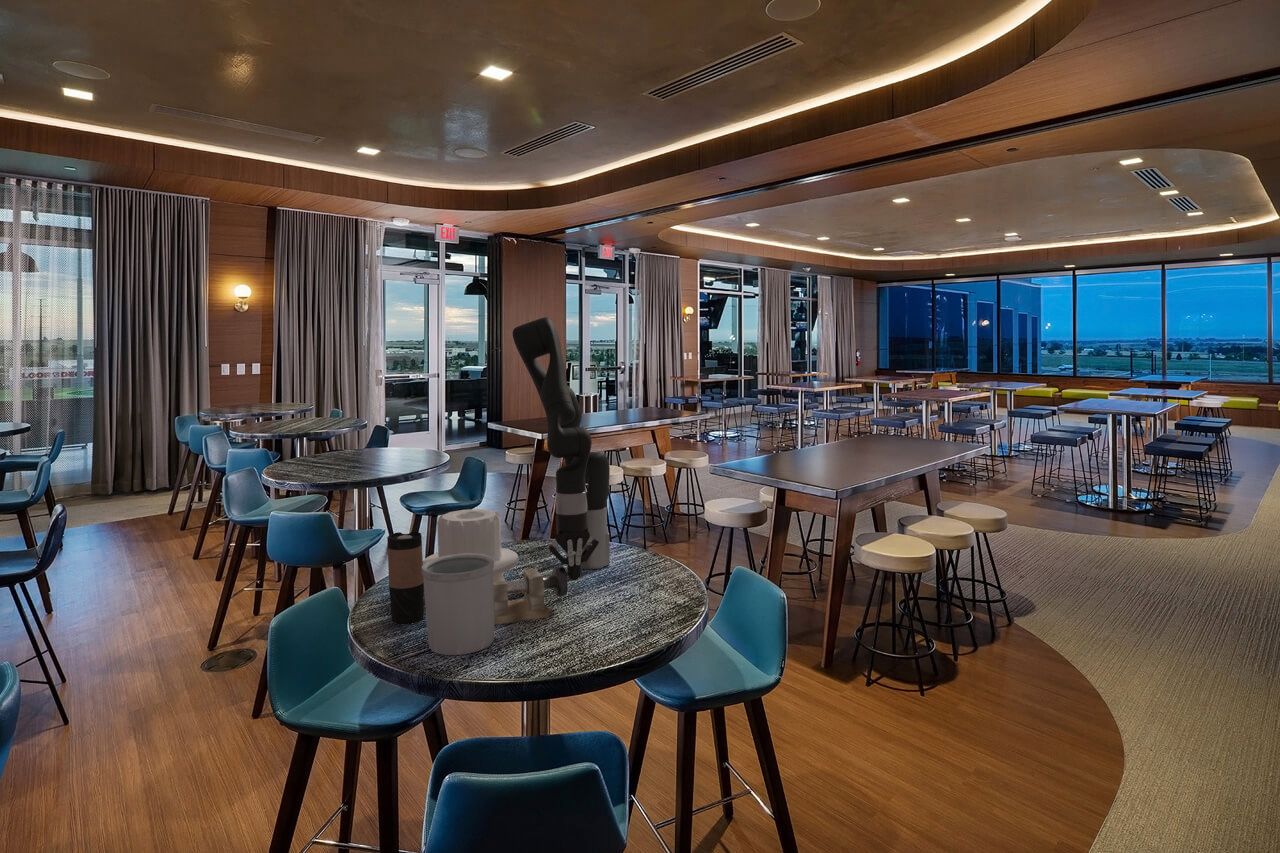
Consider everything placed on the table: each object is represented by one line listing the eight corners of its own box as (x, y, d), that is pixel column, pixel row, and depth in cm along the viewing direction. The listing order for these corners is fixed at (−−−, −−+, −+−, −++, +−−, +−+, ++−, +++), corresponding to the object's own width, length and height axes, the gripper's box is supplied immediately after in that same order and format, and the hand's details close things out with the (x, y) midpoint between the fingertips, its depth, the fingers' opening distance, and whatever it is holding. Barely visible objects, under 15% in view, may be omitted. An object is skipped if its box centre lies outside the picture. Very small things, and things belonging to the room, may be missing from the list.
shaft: (560, 590, 170) (560, 562, 169) (567, 599, 163) (567, 570, 163) (487, 599, 164) (486, 571, 163) (491, 609, 157) (490, 580, 156)
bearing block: (539, 602, 170) (539, 567, 169) (549, 616, 161) (548, 579, 160) (486, 609, 165) (485, 573, 164) (493, 624, 156) (492, 586, 155)
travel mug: (405, 628, 155) (401, 541, 153) (383, 621, 159) (379, 536, 157) (432, 617, 161) (428, 533, 159) (410, 610, 165) (406, 529, 163)
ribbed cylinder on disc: (469, 607, 167) (466, 531, 165) (402, 589, 181) (399, 518, 179) (537, 579, 188) (536, 511, 186) (473, 564, 202) (470, 501, 200)
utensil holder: (409, 651, 142) (406, 569, 141) (453, 625, 156) (450, 550, 154) (469, 662, 137) (466, 576, 135) (509, 633, 151) (507, 556, 149)
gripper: (593, 504, 171) (595, 571, 173) (541, 509, 166) (544, 578, 168) (602, 510, 164) (604, 580, 166) (548, 516, 159) (551, 588, 161)
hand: (574, 579), depth 167 cm, fingers closed
